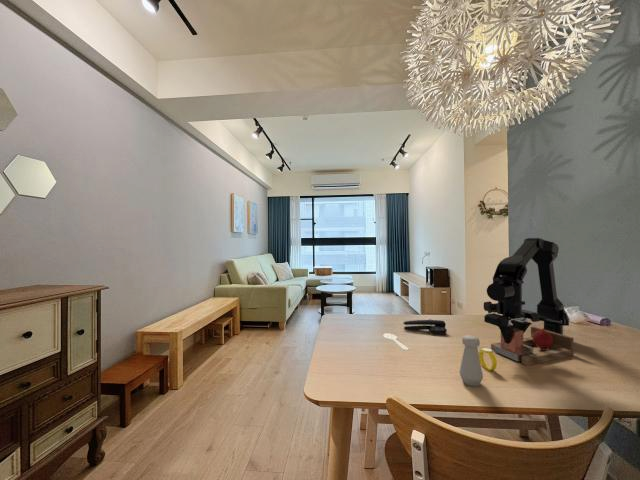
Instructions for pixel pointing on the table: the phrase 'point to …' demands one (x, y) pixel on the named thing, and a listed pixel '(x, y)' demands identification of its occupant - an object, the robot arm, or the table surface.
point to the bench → (559, 348)
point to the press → (514, 346)
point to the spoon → (394, 337)
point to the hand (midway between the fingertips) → (511, 342)
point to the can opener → (436, 329)
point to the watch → (494, 362)
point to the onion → (542, 339)
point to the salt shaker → (471, 362)
